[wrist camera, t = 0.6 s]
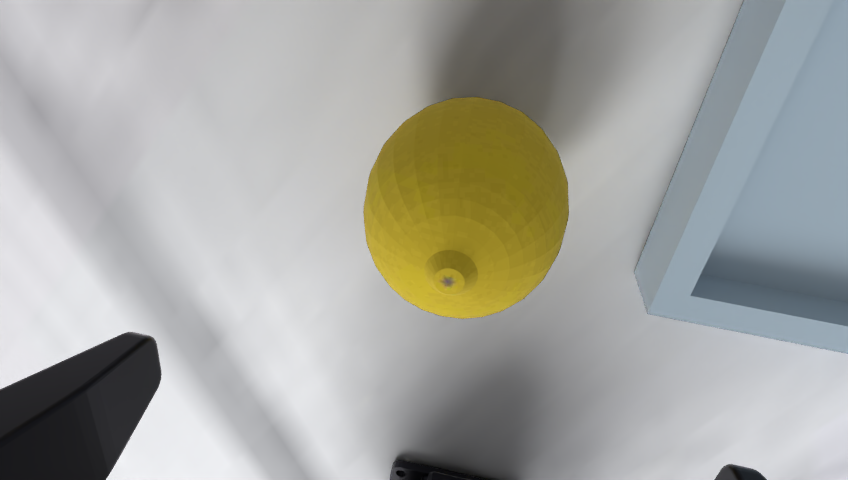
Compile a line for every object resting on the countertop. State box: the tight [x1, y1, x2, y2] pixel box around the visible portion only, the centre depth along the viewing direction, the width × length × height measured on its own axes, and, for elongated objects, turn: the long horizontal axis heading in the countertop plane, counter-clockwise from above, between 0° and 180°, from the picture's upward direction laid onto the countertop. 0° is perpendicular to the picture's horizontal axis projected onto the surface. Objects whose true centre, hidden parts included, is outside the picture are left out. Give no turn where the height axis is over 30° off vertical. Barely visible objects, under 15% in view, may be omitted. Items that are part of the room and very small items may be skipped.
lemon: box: [364, 97, 569, 319], centre depth 15 cm, size 6×6×8 cm
